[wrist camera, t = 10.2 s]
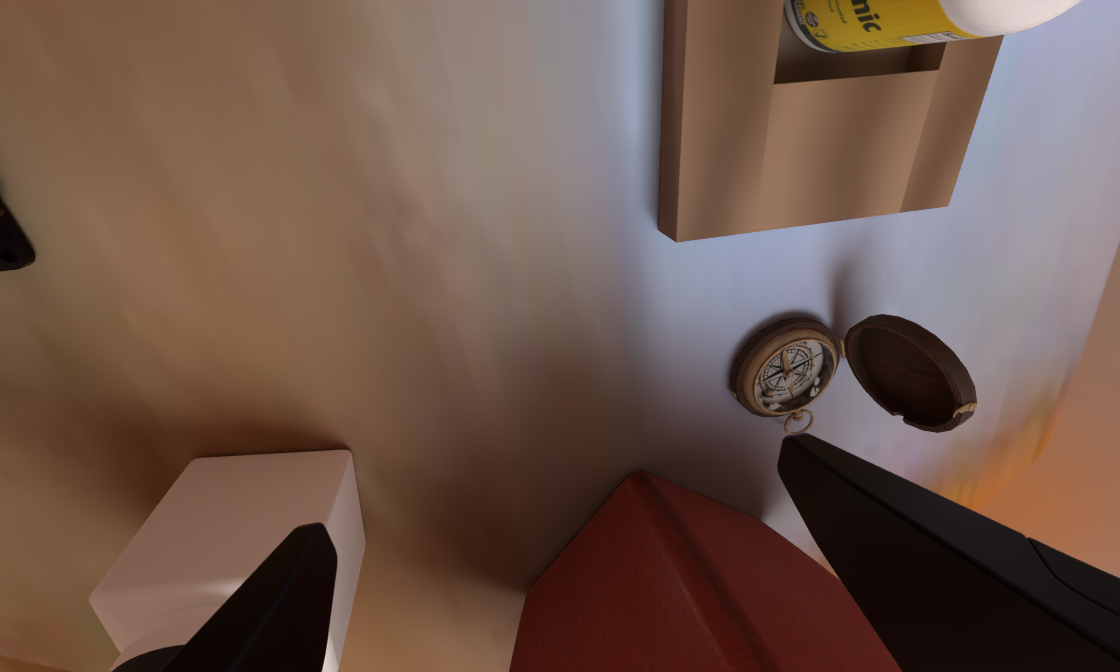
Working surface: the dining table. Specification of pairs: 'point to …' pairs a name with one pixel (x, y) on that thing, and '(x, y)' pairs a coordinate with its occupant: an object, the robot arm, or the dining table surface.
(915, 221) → the dining table surface
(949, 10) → the supplement bottle
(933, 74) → the socket board
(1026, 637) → the robot arm
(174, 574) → the medicine bottle
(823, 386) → the compass
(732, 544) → the plant pot
